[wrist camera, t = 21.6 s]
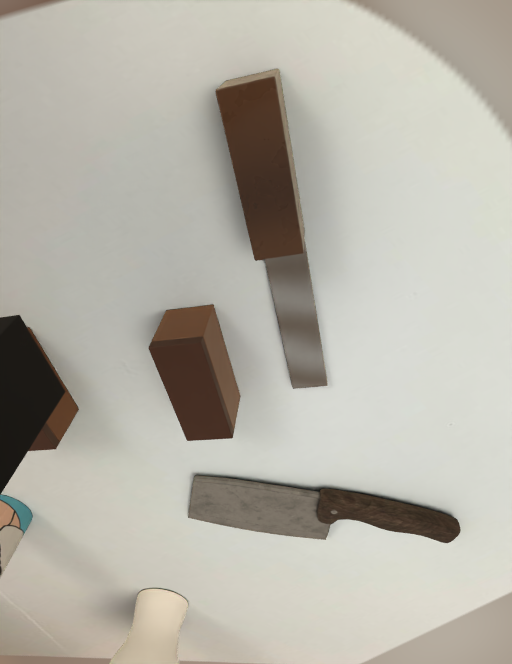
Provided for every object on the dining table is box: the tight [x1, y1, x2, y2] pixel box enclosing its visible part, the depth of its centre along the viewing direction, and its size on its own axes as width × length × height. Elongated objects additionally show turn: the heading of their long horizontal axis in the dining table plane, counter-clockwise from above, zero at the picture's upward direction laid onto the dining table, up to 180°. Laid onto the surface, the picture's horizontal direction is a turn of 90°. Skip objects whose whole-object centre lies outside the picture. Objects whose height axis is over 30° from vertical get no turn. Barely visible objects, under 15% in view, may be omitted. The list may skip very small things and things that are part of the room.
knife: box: [216, 69, 327, 389], centre depth 31 cm, size 24×3×4 cm, turn 12°
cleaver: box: [188, 475, 460, 543], centre depth 49 cm, size 30×10×2 cm, turn 88°
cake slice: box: [149, 305, 240, 441], centre depth 37 cm, size 10×4×5 cm, turn 11°
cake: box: [28, 327, 79, 451], centre depth 40 cm, size 10×8×5 cm
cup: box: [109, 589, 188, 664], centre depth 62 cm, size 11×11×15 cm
